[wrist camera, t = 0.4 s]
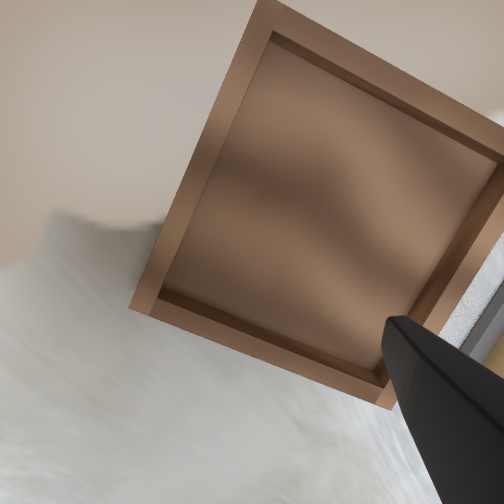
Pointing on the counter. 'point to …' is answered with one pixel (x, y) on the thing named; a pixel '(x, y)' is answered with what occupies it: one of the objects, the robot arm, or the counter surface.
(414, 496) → the counter surface
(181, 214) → the tray
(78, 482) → the counter surface
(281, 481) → the counter surface
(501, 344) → the block
